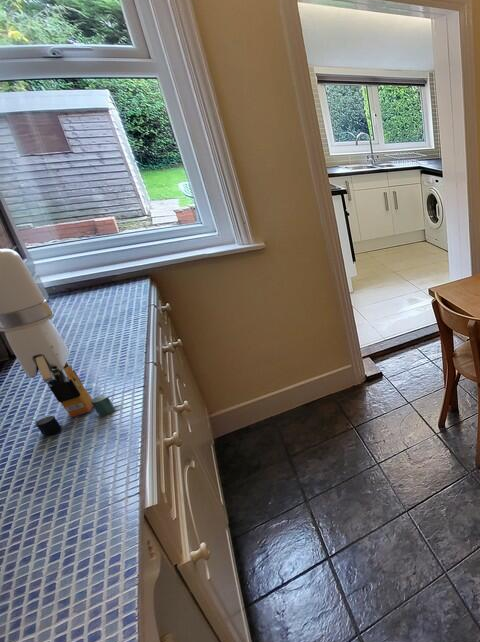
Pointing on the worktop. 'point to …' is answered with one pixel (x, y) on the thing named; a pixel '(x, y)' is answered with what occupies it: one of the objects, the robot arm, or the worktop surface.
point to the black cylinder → (48, 426)
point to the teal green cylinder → (102, 405)
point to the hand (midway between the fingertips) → (71, 393)
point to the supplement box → (79, 403)
